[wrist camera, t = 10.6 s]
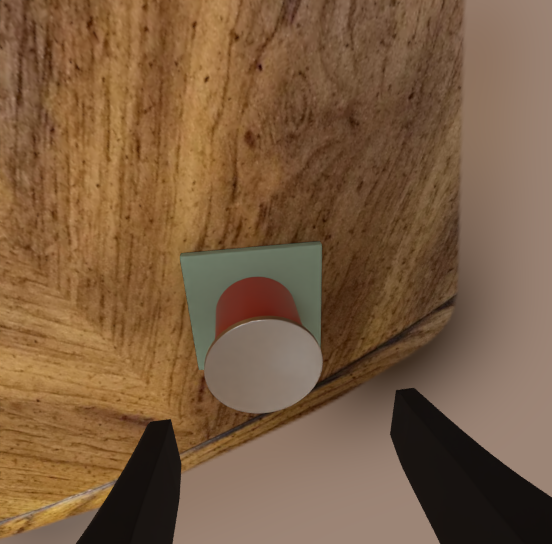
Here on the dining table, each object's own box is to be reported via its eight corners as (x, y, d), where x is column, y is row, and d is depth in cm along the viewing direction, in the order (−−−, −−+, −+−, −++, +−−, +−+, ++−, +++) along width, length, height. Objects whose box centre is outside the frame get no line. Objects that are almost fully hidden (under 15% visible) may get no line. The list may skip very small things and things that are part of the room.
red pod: (301, 264, 19) (323, 312, 15) (302, 344, 21) (322, 405, 17) (201, 274, 18) (195, 327, 14) (214, 354, 21) (212, 420, 16)
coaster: (319, 240, 19) (322, 244, 18) (318, 350, 22) (320, 356, 22) (180, 252, 18) (179, 257, 18) (199, 364, 21) (198, 370, 21)
